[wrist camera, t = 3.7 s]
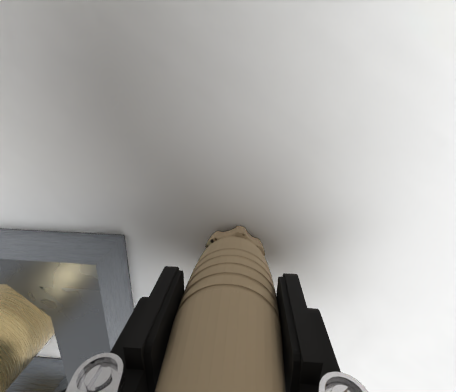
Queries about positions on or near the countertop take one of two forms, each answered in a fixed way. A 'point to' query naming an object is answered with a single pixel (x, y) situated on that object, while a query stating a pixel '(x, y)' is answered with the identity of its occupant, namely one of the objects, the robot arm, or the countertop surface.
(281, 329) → the robot arm
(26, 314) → the brass pin
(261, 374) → the handle
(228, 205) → the countertop surface
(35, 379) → the bolt plate
